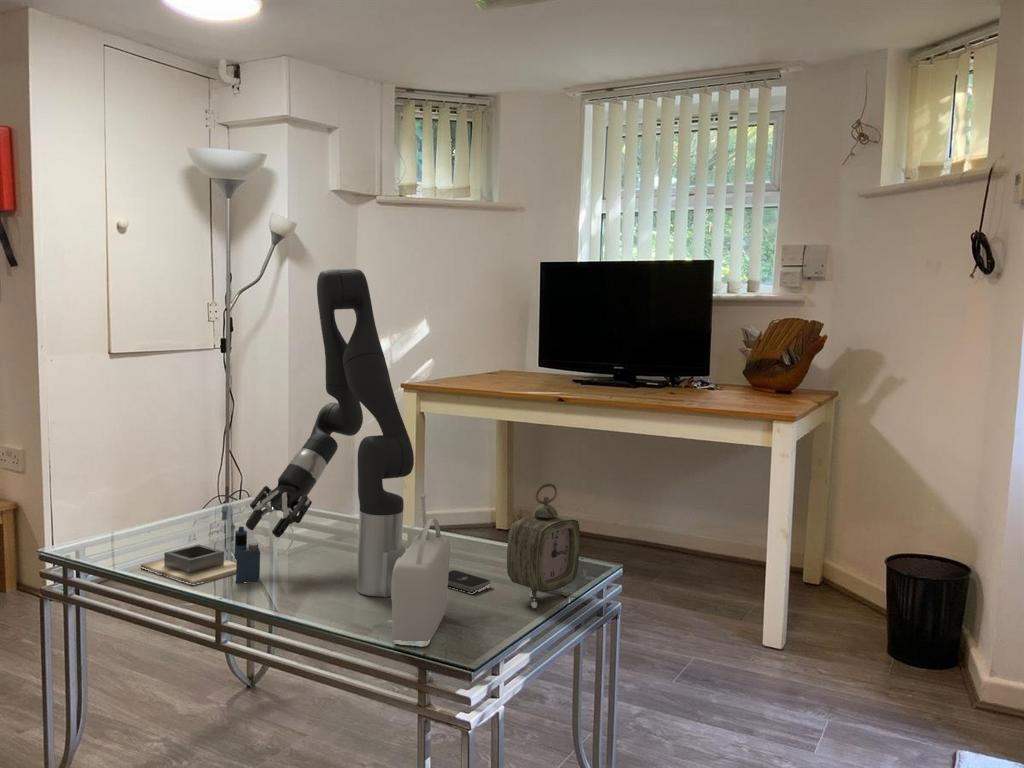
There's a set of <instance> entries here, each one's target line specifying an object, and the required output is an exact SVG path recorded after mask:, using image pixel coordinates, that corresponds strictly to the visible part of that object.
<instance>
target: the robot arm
mask: <svg viewBox="0 0 1024 768" xmlns="http://www.w3.org/2000/svg"><path fill="white" fill-rule="evenodd" d="M316 296H317V304H318V305H317V306H318V313H319V314H318V315H319V320H320V329H321V334H322V336H321V337H322V342H323V348H324V357H325V359H324V360H325V361H324V362H325V390H326V393H327V394H328V395H329V396H331V397H332V398H333V399H335V400H337V402H329V403H326V404H325V405H324V406H323V407H322V408H321V409H320V410H319V412H318V414H317V416H316V420H315V422H314V425H313V427H312V431H311V434H310V437H309V438H307V440H306V442H305V443H304V444H303V446H302V448H301V449H299V451H298V452H297V453H296V454H295V455H294V457H293V458H292V459H291V460H290V462H289V463H288V465H287V466H286V467H285V469H284V471H282V473H281V475H280V476H279V477H278V479H277V486H276V487H275V488H274V489H272V488H270V487H269V486H268V485H265V486H264V487H263V488H262V489H261V490H260V492H258V494H257V495H256V496H255V498H254V499H253V501H252V502H251V503H250V504H249V507H250V508H251V509H252V510H253V512H252V513H251V514H250V516H249V517H248V519H247V520H246V522H245V527H246V528H247V529H248V530H250V531H254V529H255V528H256V527H257V526H258V524H259V522H260V521H261V519H263V517H264V516H265V515H267V514H268V513H273V512H275V511H277V512H280V511H281V512H282V517H281V518H280V519H279V521H278V522H277V523H276V525H275V526H274V528H273V529H272V531H271V533H272V535H274V537H275V538H280V537H282V535H284V533H285V532H286V530H288V529H287V528H288V527H289V526H290V525H292V524H293V523H295V524H299V523H301V521H302V520H303V518H304V517H305V515H306V513H307V511H308V509H310V507H311V505H312V503H313V502H312V500H311V499H310V498H309V497H308V495H309V494H310V493H311V491H312V489H313V488H314V487H315V485H316V484H317V482H318V481H319V480H320V478H321V477H322V475H323V473H324V472H325V469H326V467H327V466H328V465H329V463H330V461H331V460H332V458H333V457H334V455H335V454H336V452H337V451H338V443H337V441H336V439H335V438H334V437H332V436H331V435H332V434H333V433H336V434H340V435H342V436H348V437H350V436H351V437H352V436H355V435H357V434H358V433H359V431H360V430H361V428H362V426H363V423H364V414H363V410H362V406H364V407H365V408H366V409H367V410H368V411H369V412H370V414H371V415H372V416H373V417H374V419H375V420H376V421H377V424H378V425H379V428H380V431H381V433H382V435H381V434H380V435H368V436H365V437H363V438H362V440H361V441H360V442H359V445H358V448H357V449H358V451H357V494H358V500H359V511H358V512H359V513H358V516H359V517H358V539H357V540H358V542H357V543H358V544H357V548H358V549H357V564H356V565H357V569H356V570H357V571H356V574H357V575H356V576H357V577H356V591H357V592H358V593H360V594H362V595H364V596H369V597H383V598H388V597H391V581H392V574H393V568H394V565H395V563H396V560H397V559H398V558H401V556H402V555H403V554H404V553H405V552H406V550H407V548H406V546H404V545H403V528H404V527H403V526H404V525H403V524H404V503H405V502H404V498H403V497H402V496H401V495H400V494H397V493H393V492H389V491H386V490H385V489H384V485H383V480H388V479H397V478H398V479H399V478H405V477H408V476H409V475H410V474H411V473H412V471H413V469H414V466H415V465H414V464H415V462H414V461H415V456H414V449H413V446H412V442H411V440H410V436H409V433H408V430H407V428H406V425H405V423H404V420H403V418H402V415H401V413H400V409H399V406H398V403H397V400H396V397H395V393H394V390H393V385H392V381H391V376H390V374H389V369H388V365H387V361H386V357H385V354H384V351H383V347H382V344H381V340H380V337H379V334H378V333H379V332H378V329H377V327H376V321H375V316H374V312H373V311H374V310H373V305H372V299H371V294H370V288H369V285H368V281H367V277H366V276H365V273H364V272H363V271H362V270H361V269H355V268H341V269H340V268H339V269H336V268H333V269H332V268H331V269H323V270H321V271H320V272H319V273H318V277H317V281H316ZM336 310H353V312H354V313H355V319H356V321H355V325H354V329H353V331H352V334H351V336H350V338H349V340H348V341H347V342H346V340H345V338H344V337H343V335H342V333H341V332H340V329H339V328H338V325H337V322H336V321H337V320H336V317H335V316H336V315H335V311H336ZM361 404H362V406H361ZM269 503H270V504H269ZM263 508H264V509H263Z"/></svg>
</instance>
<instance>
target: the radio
mask: <svg viewBox="0 0 1024 768" xmlns="http://www.w3.org/2000/svg"><path fill="white" fill-rule="evenodd" d="M420 498H421V508H422V526H423V527H422V528H423V529H421V530H420V532H419V534H420V535H418V536H416V538H415V539H414V540H413V542H412V543H411V544H410V545H409V547H408V548H406V552H405V553H404V554H403V555H402V556H401V558H398V559H397V560H396V563H395V565H394V568H393V574H392V581H391V595H390V600H391V608H392V609H391V615H392V616H391V619H388V620H387V621H386V627H387V628H391V640H392V639H393V640H401V641H428V640H430V639H431V638H432V636H433V635H434V636H435V634H434V633H436V632H437V630H438V628H439V626H440V624H441V622H442V621H443V618H444V616H445V615H446V611H447V601H448V600H447V599H448V590H449V588H448V573H449V571H450V556H451V555H450V554H451V541H450V539H449V537H447V536H442V535H441V527H440V524H439V521H438V519H437V518H429V519H428V520H427V516H426V515H427V513H426V512H427V511H426V494H425V493H420ZM432 523H433V524H434V525H433V526H434V529H435V535H430V527H431V525H432ZM435 631H436V632H435ZM434 636H433V637H434ZM432 639H433V638H432ZM393 640H392V641H393Z"/></svg>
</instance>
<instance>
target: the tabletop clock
mask: <svg viewBox="0 0 1024 768" xmlns="http://www.w3.org/2000/svg"><path fill="white" fill-rule="evenodd" d="M548 487H551V488H552V489H554V494H553V496H552V497H551V498H549V496H544V497H543V500H540V499H539V494H540V493H541V490H543V489H544V488H548ZM557 495H558V488H557V486H556V485H555V484H553V483H551V482H550V483H544V484H541V486H539V487H538V488H537V490H536V493H535V500H536V501H537V503H538V504H539V505H538V506H537V507H536V508H535V509H534V510H533V513H532V514H530V515H528V516H525V517H523V518H521V519H518V520H515V521H514V522H512V524H510V527H509V530H508V536H507V546H506V547H507V549H506V571H507V575H508V578H509V579H510V580H511V582H512V583H514V584H516V585H520V586H523V587H526V588H530V591H531V590H532V595H533V598H532V600H533V599H535V598H536V597H537V594H536V593H537V591H538V592H542V593H548V592H552V591H555V590H559V589H561V587H565V586H568V585H569V584H570V583H572V582H573V581H574V580H575V579H576V576H577V572H578V569H579V568H578V567H579V562H580V561H579V560H580V551H581V546H580V545H581V533H580V532H581V530H580V523H579V521H578V520H577V519H573V518H569V517H564V516H559V515H558V510H557V509H556V508H555V507H554V506H553V505H551V504H550V503H552V502H553V501H555V499H556V497H557ZM536 599H537V598H536Z"/></svg>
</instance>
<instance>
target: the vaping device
mask: <svg viewBox="0 0 1024 768" xmlns="http://www.w3.org/2000/svg"><path fill="white" fill-rule="evenodd" d="M234 533H235V540H234V555H233V556H234V560H235V561H236V562H235V563H236V574H235V583H236V584H237V583H243V584H245V583H244V582H256V583H258V582H259V579H260V577H261V572H260V571H261V570H260V569H261V550H260V547H259V543H257V542H251V543H250V542H249V543H248V542H247V541H248V540H247V539H248V531H247V530H245V527H244V526H238V530H235V532H234ZM247 543H248V545H247ZM247 546H248V547H247Z"/></svg>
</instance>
